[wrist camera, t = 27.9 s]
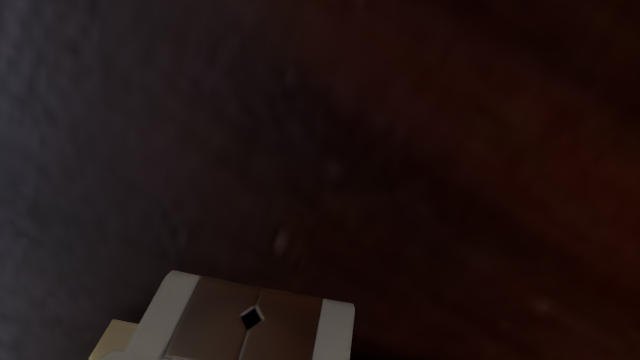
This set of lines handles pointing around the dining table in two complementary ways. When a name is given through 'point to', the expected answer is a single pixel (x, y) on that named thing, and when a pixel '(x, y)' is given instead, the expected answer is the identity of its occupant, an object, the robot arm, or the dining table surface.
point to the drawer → (114, 338)
